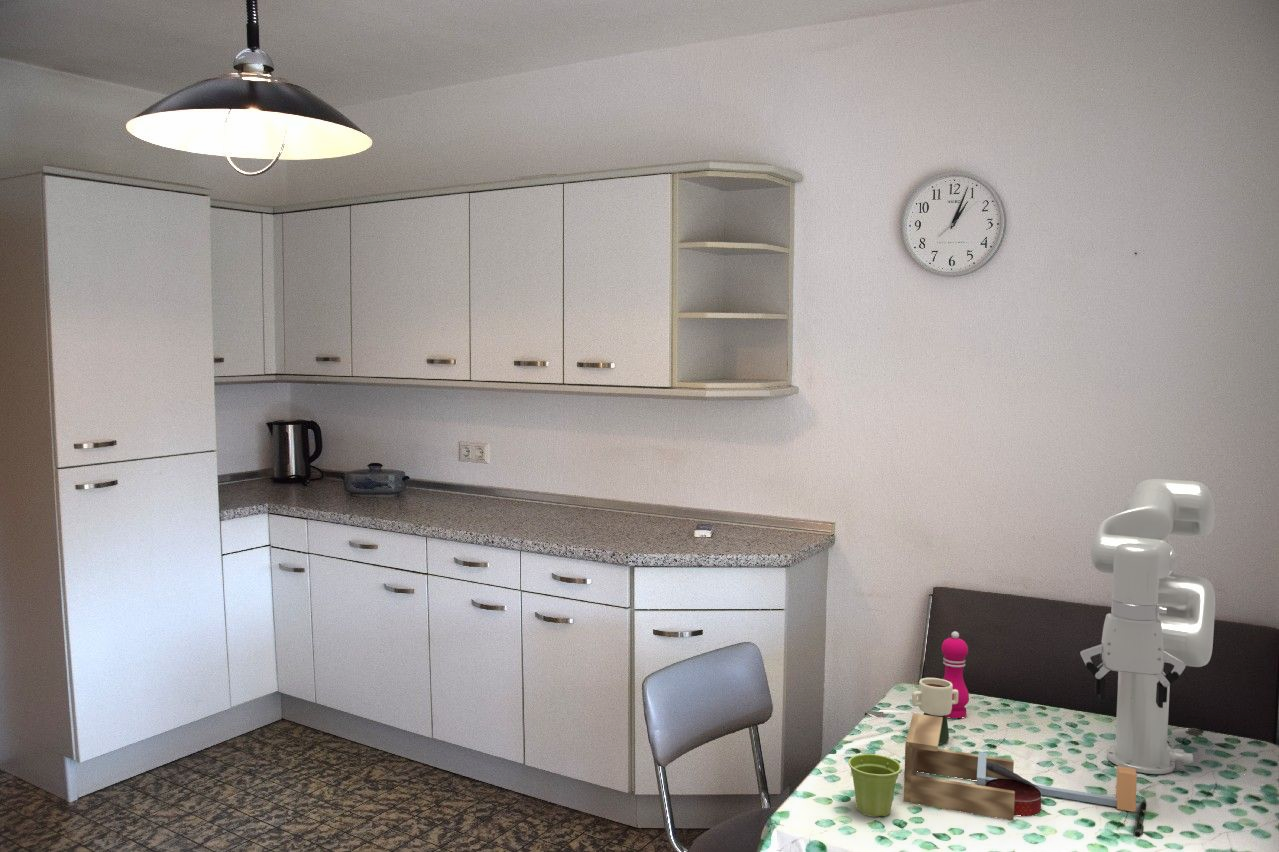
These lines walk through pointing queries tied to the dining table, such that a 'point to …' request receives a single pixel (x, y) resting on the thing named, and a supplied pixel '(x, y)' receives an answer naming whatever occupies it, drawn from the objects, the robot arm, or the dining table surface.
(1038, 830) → the dining table surface
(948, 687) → the character mug
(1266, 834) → the dining table surface
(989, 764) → the canned food
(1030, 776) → the dining table surface
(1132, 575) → the robot arm
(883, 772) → the plant pot
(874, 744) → the dining table surface
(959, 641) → the pepper mill
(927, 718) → the shelf lane
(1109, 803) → the pull rod
